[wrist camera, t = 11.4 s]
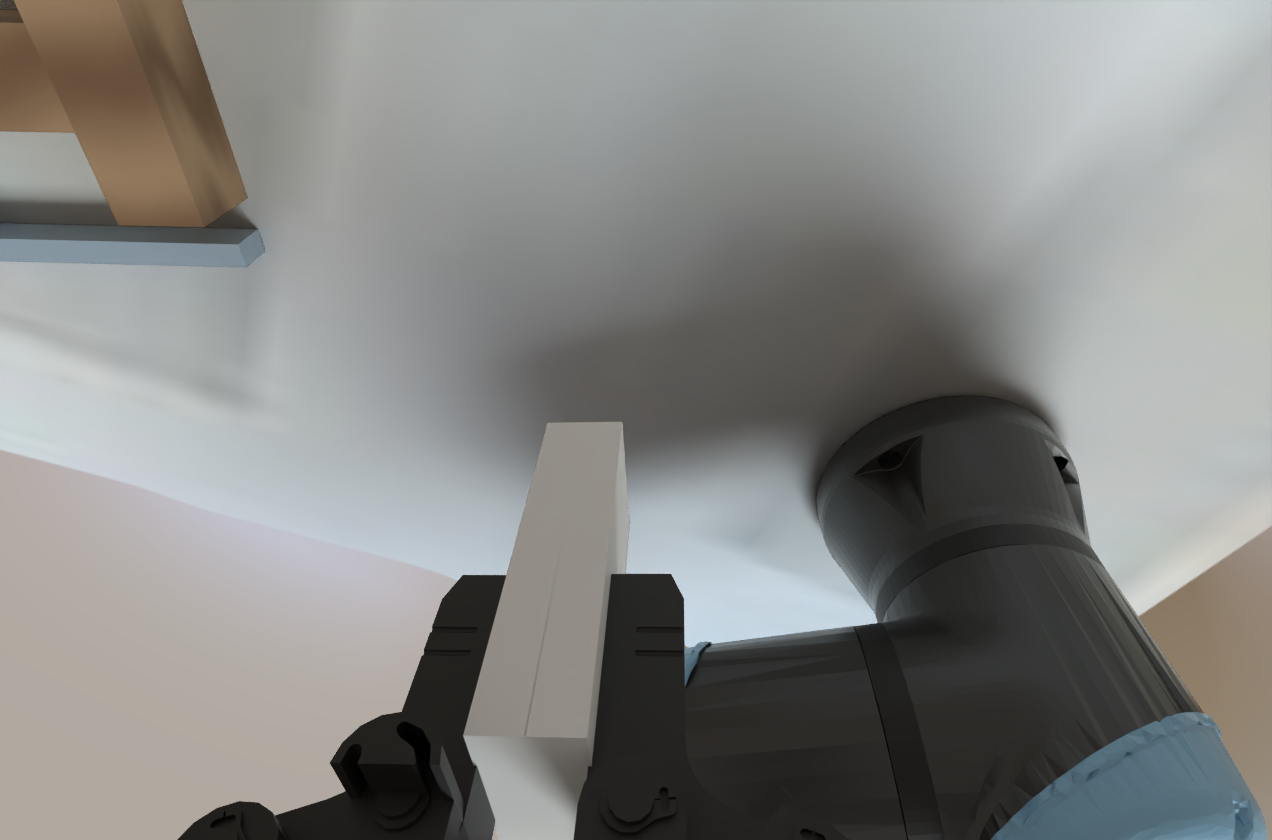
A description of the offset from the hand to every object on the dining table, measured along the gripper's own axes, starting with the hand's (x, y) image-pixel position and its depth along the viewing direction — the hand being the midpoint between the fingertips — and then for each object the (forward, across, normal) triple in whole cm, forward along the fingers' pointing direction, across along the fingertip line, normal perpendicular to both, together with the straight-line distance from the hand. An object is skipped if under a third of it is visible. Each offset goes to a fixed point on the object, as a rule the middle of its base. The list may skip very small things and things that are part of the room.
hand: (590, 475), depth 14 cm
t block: (+22, +25, -6) cm, 34 cm away
